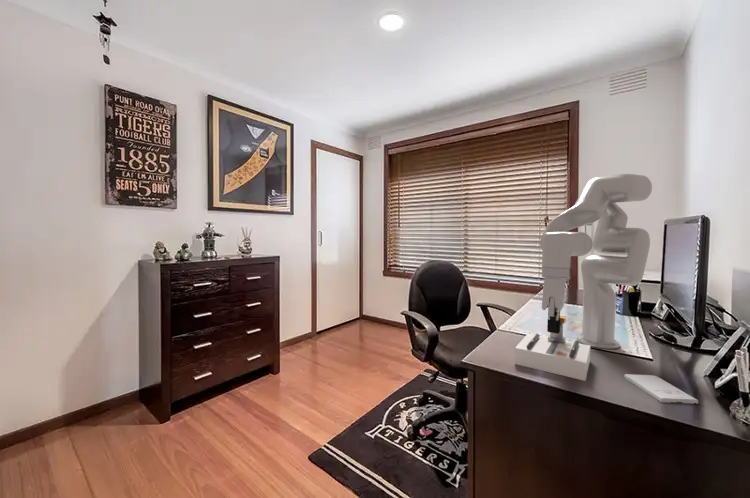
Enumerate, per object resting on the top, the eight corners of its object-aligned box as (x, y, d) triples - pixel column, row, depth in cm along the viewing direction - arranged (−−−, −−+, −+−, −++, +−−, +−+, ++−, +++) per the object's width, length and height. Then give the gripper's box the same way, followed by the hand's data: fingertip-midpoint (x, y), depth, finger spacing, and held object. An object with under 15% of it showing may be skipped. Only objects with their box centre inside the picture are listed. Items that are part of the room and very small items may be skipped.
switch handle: (549, 337, 104) (550, 314, 104) (565, 339, 102) (565, 316, 101) (547, 340, 101) (548, 316, 101) (563, 342, 99) (564, 318, 98)
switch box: (526, 348, 109) (527, 330, 108) (589, 361, 98) (590, 341, 97) (514, 363, 96) (515, 343, 96) (585, 380, 85) (586, 358, 85)
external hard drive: (656, 381, 86) (698, 405, 74) (624, 379, 87) (660, 404, 75) (656, 375, 86) (698, 399, 74) (624, 374, 87) (660, 397, 74)
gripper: (546, 269, 104) (544, 324, 105) (536, 274, 92) (534, 335, 93) (573, 271, 99) (570, 328, 100) (566, 276, 88) (564, 341, 89)
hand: (553, 332), depth 97 cm, fingers closed
